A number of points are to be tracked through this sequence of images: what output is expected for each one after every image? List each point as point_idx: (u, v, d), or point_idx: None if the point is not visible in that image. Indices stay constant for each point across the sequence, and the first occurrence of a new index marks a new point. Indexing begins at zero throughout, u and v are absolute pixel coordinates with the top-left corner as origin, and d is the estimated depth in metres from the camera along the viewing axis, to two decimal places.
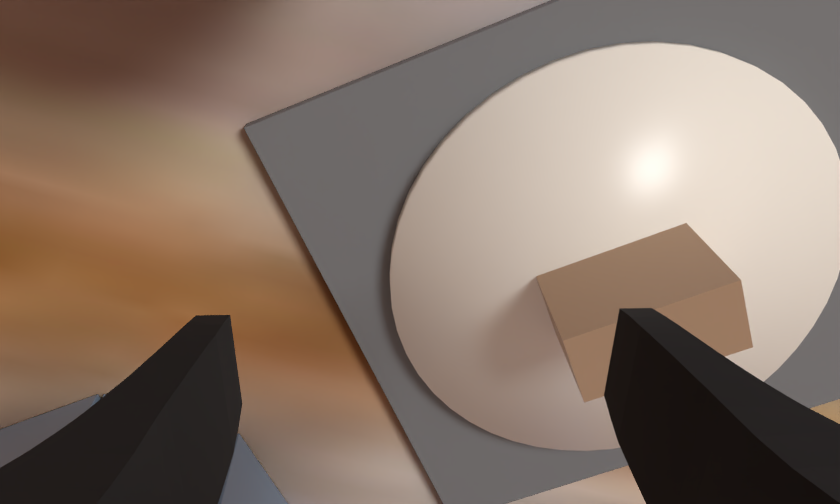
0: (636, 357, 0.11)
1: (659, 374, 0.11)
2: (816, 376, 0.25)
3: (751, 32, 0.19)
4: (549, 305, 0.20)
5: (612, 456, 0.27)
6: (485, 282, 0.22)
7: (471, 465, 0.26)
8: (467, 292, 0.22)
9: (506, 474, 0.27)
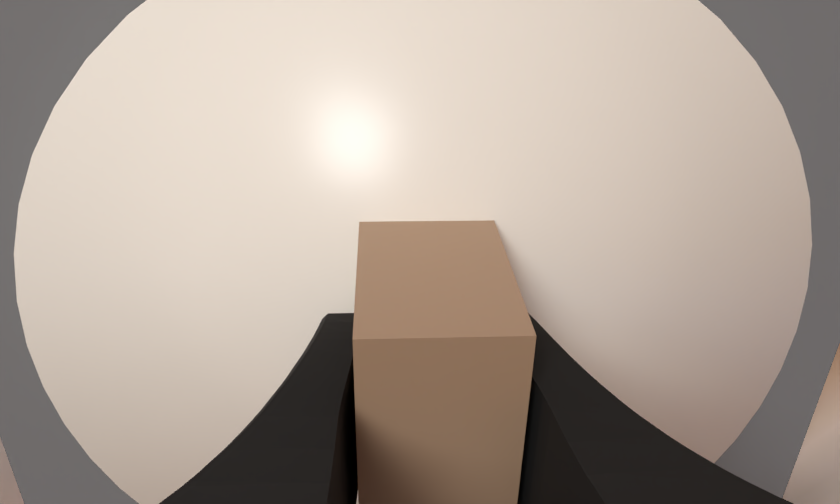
0: None
1: None
2: None
3: (44, 37, 0.11)
4: None
5: (791, 389, 0.15)
6: None
7: None
8: None
9: None
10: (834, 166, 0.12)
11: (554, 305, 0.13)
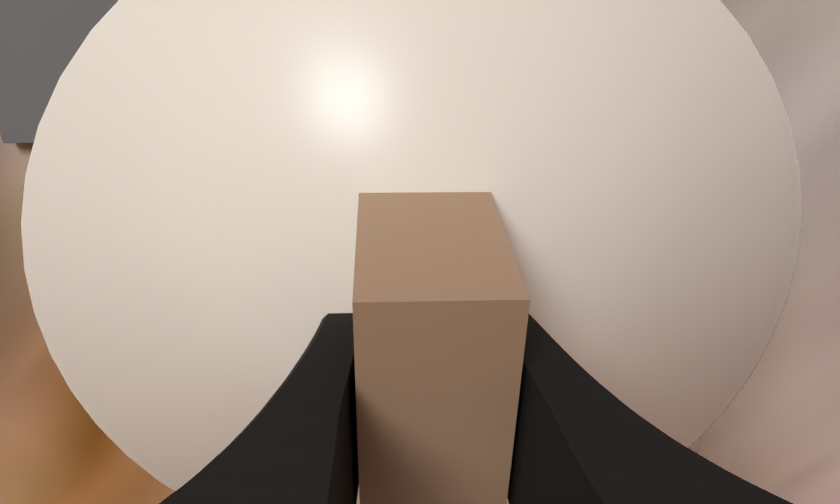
0: None
1: None
2: None
3: None
4: None
5: None
6: None
7: None
8: None
9: None
10: None
11: (549, 276, 0.13)
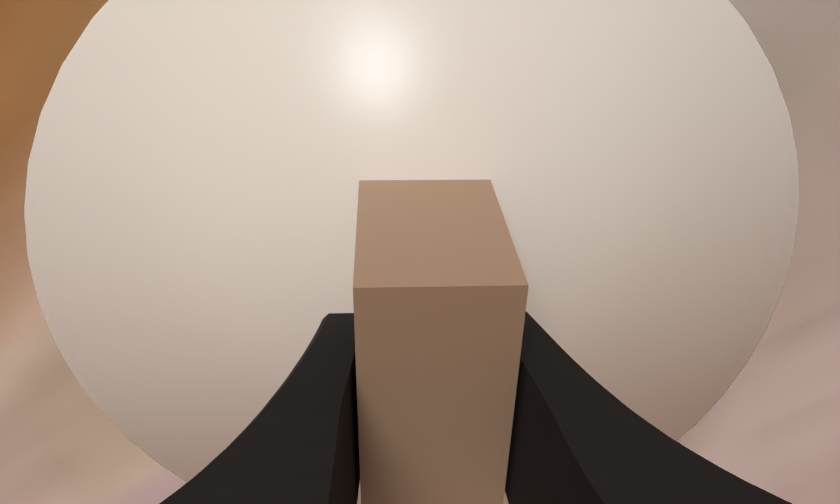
0: None
1: None
2: None
3: None
4: None
5: None
6: None
7: None
8: None
9: None
10: None
11: (548, 263, 0.13)
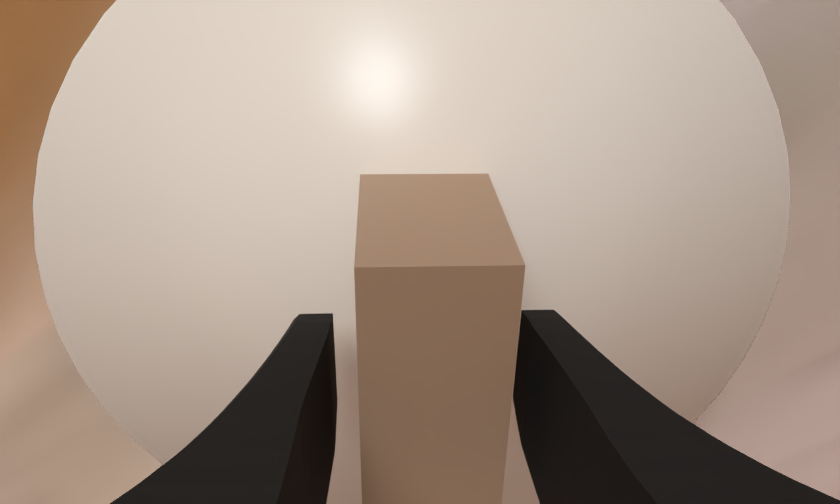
0: (532, 359, 0.11)
1: (547, 377, 0.11)
2: None
3: None
4: None
5: None
6: (349, 442, 0.15)
7: None
8: (354, 463, 0.16)
9: None
10: None
11: (545, 257, 0.14)
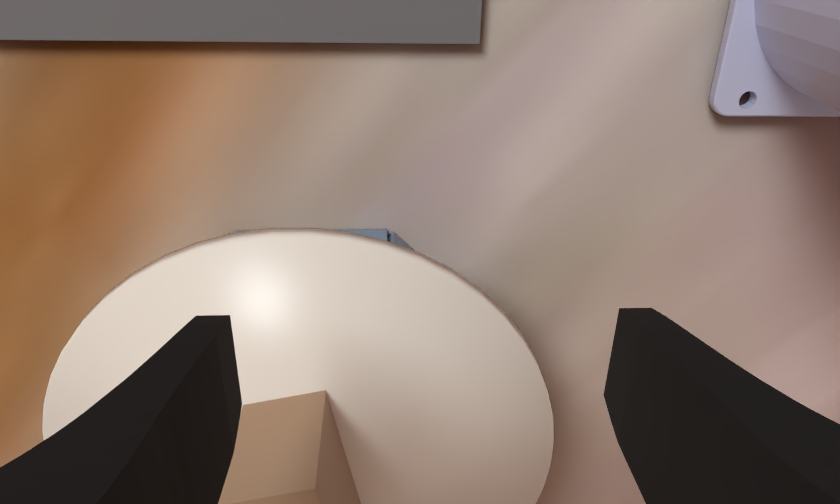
0: (636, 357, 0.11)
1: (659, 374, 0.11)
2: None
3: None
4: None
5: None
6: None
7: None
8: None
9: None
10: None
11: (383, 430, 0.20)
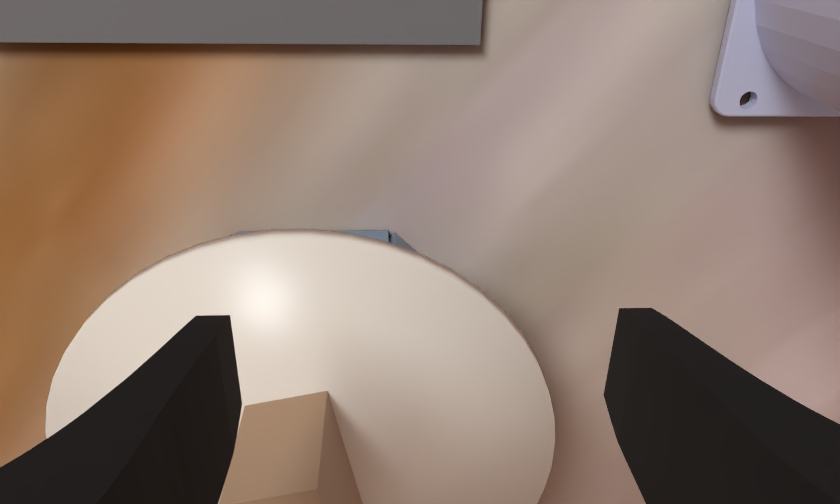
0: (636, 357, 0.11)
1: (659, 374, 0.11)
2: None
3: None
4: None
5: None
6: None
7: None
8: None
9: None
10: None
11: (384, 430, 0.20)
